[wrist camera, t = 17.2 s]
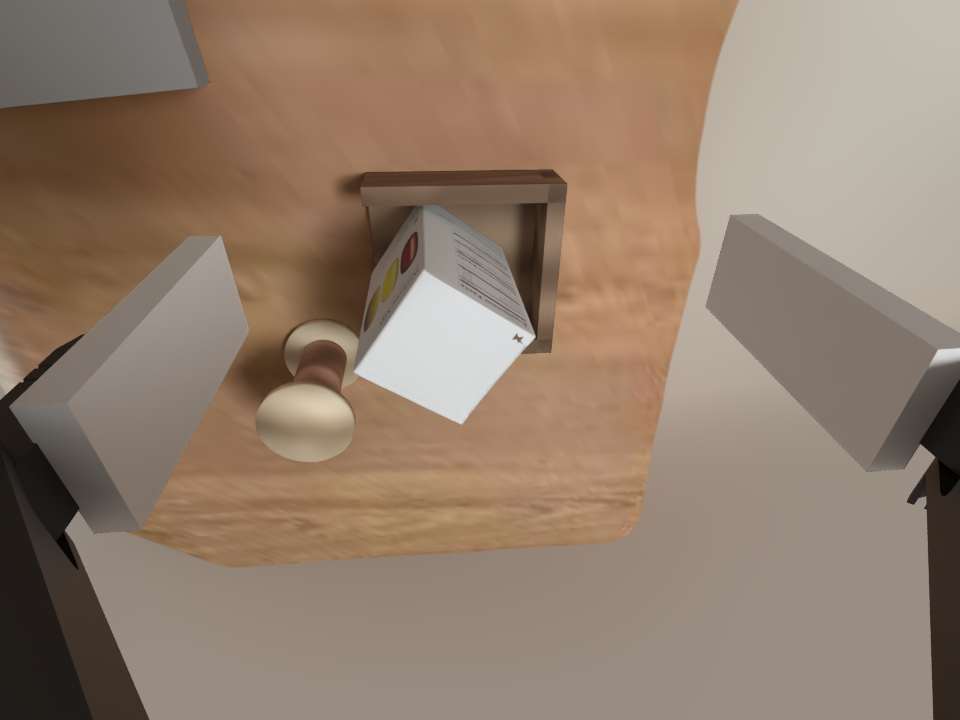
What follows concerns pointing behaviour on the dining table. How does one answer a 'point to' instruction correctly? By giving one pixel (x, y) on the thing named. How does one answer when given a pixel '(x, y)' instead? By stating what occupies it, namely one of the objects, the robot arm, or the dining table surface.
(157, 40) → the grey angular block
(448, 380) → the supplement box
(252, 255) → the dining table surface
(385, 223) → the open wooden tray
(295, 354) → the bobbin post
